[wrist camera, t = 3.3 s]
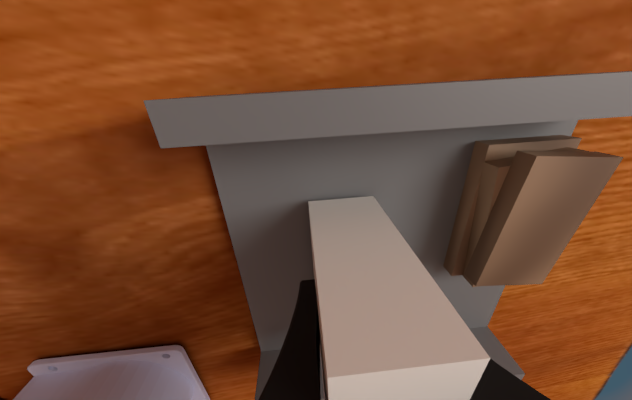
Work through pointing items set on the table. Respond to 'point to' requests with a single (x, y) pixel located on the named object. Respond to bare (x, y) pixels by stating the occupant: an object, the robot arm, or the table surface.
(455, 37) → the table surface
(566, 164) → the offcut stack
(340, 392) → the white rectangular block
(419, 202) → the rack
